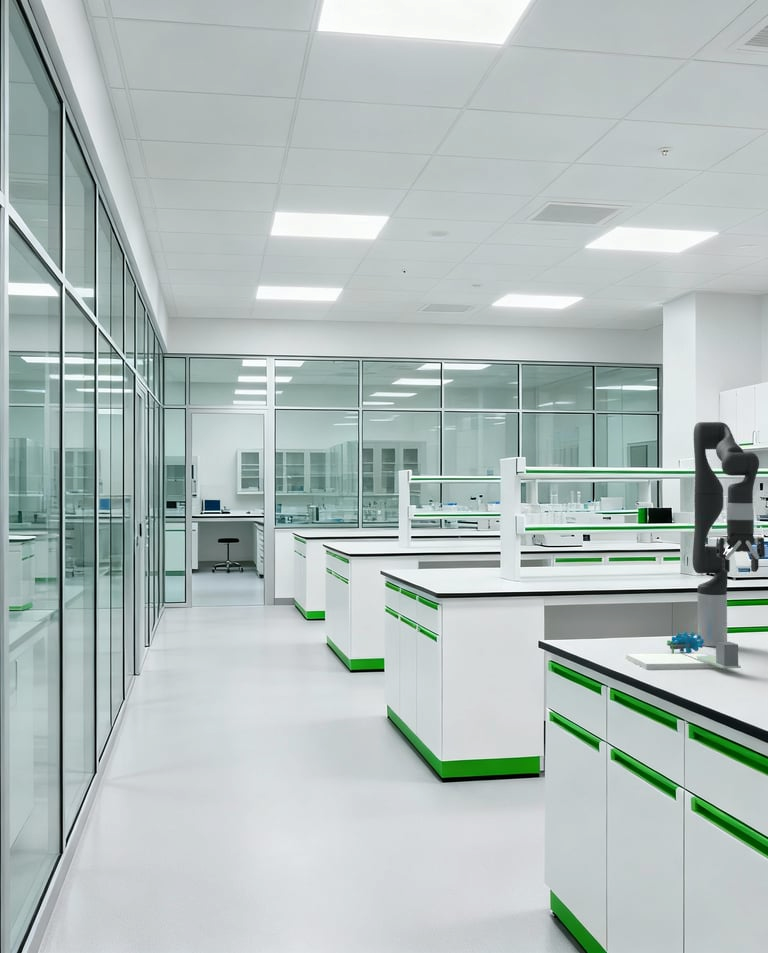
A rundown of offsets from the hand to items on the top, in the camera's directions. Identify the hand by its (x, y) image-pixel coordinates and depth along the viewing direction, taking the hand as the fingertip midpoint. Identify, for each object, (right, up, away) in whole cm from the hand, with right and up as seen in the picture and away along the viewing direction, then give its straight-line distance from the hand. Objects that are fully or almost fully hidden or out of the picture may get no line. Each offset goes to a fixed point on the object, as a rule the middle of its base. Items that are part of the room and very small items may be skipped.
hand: (740, 571), depth 261 cm
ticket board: (-21, -27, -4) cm, 35 cm away
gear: (-12, -28, +13) cm, 33 cm away
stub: (-12, -25, -12) cm, 30 cm away
